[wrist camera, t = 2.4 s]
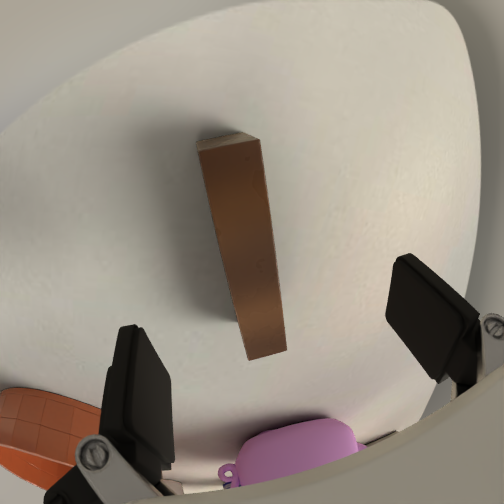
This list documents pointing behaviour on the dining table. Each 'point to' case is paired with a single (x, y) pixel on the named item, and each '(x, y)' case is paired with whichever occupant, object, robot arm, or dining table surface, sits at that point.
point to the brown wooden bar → (245, 238)
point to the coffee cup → (174, 486)
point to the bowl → (42, 433)
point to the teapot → (291, 451)
